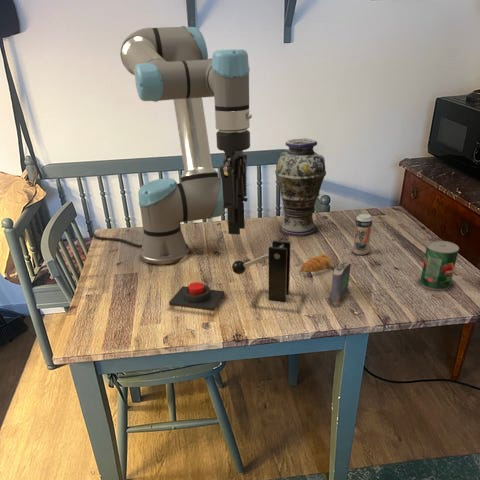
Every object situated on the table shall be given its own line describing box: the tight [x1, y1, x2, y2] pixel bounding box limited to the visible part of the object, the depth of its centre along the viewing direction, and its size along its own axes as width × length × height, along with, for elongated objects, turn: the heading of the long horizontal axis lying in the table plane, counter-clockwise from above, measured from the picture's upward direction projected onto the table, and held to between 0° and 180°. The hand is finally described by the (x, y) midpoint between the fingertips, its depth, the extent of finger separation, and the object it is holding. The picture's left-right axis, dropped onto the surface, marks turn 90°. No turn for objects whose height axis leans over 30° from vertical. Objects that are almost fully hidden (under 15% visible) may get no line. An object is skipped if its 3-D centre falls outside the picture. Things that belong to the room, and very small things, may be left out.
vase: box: [274, 138, 327, 237], centre depth 157 cm, size 17×17×30 cm
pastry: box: [300, 254, 333, 273], centre depth 136 cm, size 9×7×4 cm
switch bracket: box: [268, 240, 292, 303], centre depth 118 cm, size 12×9×16 cm
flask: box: [330, 259, 352, 303], centre depth 119 cm, size 9×3×11 cm, turn 151°
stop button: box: [187, 281, 205, 295], centre depth 119 cm, size 4×4×2 cm
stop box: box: [168, 284, 226, 312], centre depth 121 cm, size 12×9×4 cm
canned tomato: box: [419, 240, 460, 291], centre depth 124 cm, size 8×8×11 cm
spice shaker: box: [352, 213, 373, 256], centre depth 143 cm, size 5×5×12 cm
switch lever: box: [231, 244, 285, 275], centre depth 117 cm, size 15×4×4 cm, turn 74°
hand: (236, 230), depth 115 cm, fingers open, 3 cm apart
